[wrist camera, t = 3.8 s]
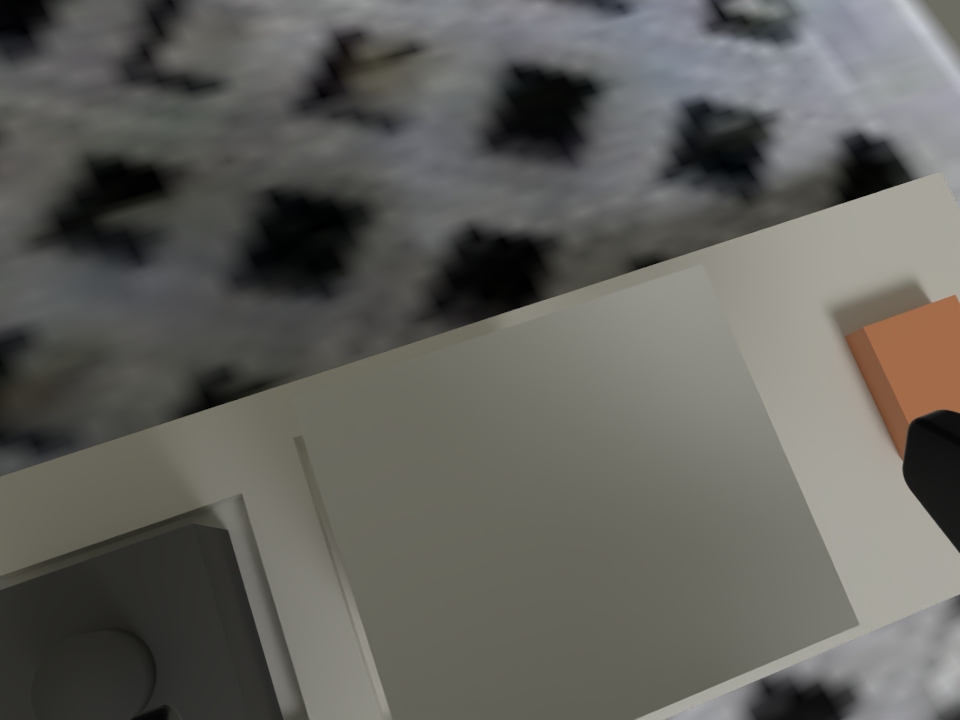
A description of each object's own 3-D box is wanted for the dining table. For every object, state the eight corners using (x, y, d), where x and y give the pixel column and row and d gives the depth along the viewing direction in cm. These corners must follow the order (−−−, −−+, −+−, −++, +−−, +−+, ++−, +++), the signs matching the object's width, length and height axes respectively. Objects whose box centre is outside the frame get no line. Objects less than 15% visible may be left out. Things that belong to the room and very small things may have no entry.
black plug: (227, 529, 17) (178, 520, 14) (283, 720, 17) (247, 767, 13) (33, 598, 17) (-77, 607, 13) (82, 799, 16) (-20, 873, 12)
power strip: (997, 168, 22) (1067, 122, 20) (1165, 486, 20) (1263, 476, 18) (-48, 510, 18) (-116, 503, 16) (52, 953, 16) (-7, 1018, 14)
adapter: (616, 590, 18) (867, 622, 8) (410, 670, 17) (421, 809, 7) (550, 417, 19) (708, 261, 9) (351, 487, 18) (290, 399, 8)
